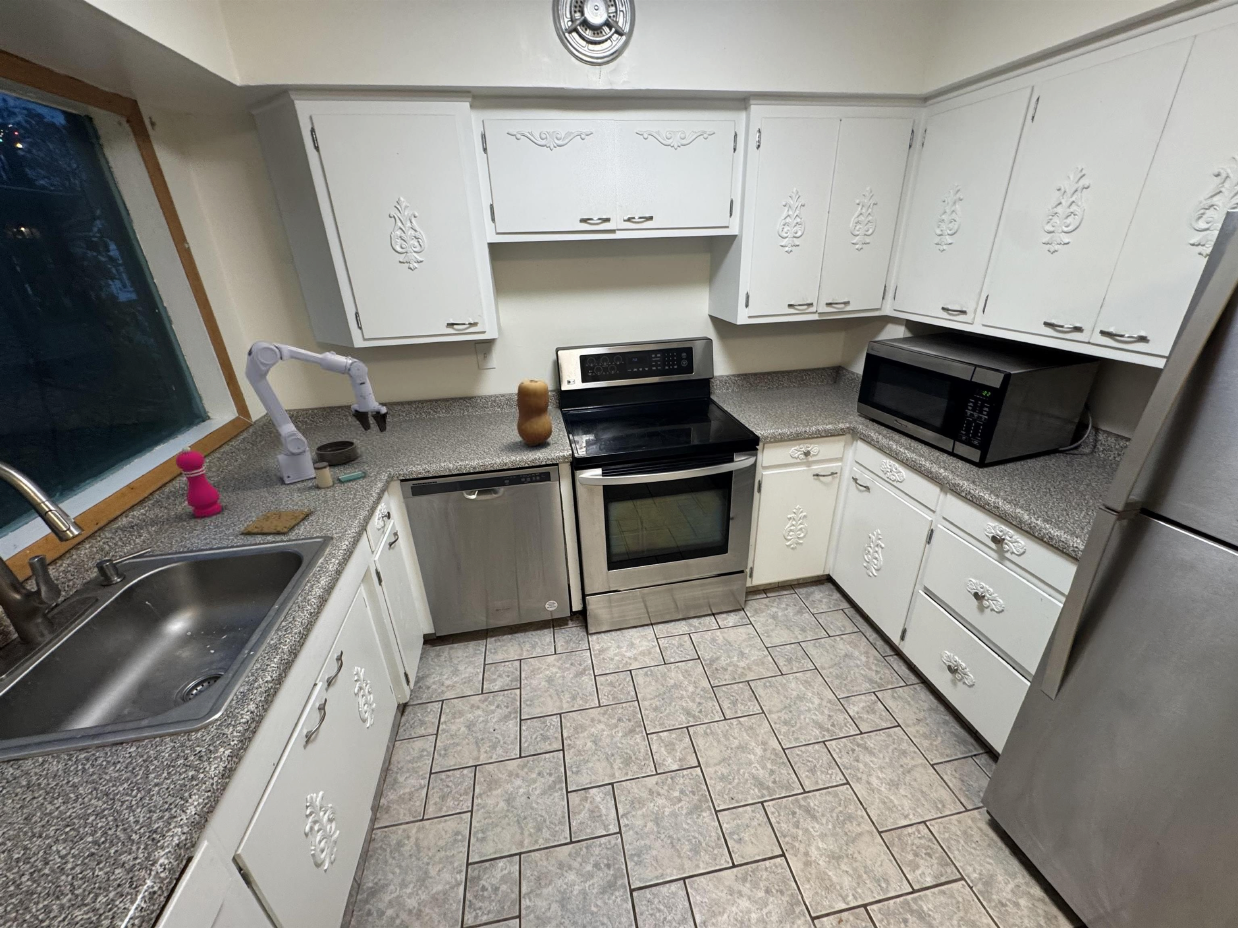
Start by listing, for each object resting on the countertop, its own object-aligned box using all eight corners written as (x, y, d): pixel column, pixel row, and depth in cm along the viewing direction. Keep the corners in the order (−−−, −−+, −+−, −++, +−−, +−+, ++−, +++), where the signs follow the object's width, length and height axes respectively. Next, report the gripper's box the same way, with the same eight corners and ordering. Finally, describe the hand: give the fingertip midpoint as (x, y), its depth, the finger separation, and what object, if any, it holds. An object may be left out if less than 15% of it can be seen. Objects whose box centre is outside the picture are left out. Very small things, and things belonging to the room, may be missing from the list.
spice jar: (319, 489, 159) (314, 468, 156) (316, 484, 161) (311, 464, 159) (334, 485, 161) (329, 464, 158) (331, 481, 164) (326, 461, 161)
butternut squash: (556, 447, 192) (553, 382, 182) (521, 452, 187) (516, 386, 178) (547, 436, 204) (543, 375, 194) (514, 440, 199) (509, 378, 190)
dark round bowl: (322, 469, 174) (319, 455, 172) (314, 458, 183) (310, 445, 181) (363, 459, 181) (360, 446, 180) (353, 450, 191) (350, 437, 189)
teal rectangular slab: (342, 482, 163) (341, 481, 163) (338, 478, 166) (337, 476, 166) (365, 477, 167) (364, 475, 167) (360, 472, 171) (360, 470, 170)
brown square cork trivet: (312, 512, 144) (311, 509, 143) (286, 533, 133) (285, 530, 132) (270, 512, 144) (269, 509, 143) (240, 533, 133) (239, 530, 132)
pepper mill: (219, 504, 149) (197, 440, 142) (227, 511, 145) (205, 446, 138) (189, 513, 144) (165, 447, 137) (196, 520, 140) (171, 453, 132)
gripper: (388, 391, 174) (399, 427, 180) (358, 389, 179) (369, 425, 185) (372, 398, 168) (384, 435, 174) (341, 396, 173) (354, 432, 179)
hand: (375, 430), depth 179 cm, fingers open, 7 cm apart
